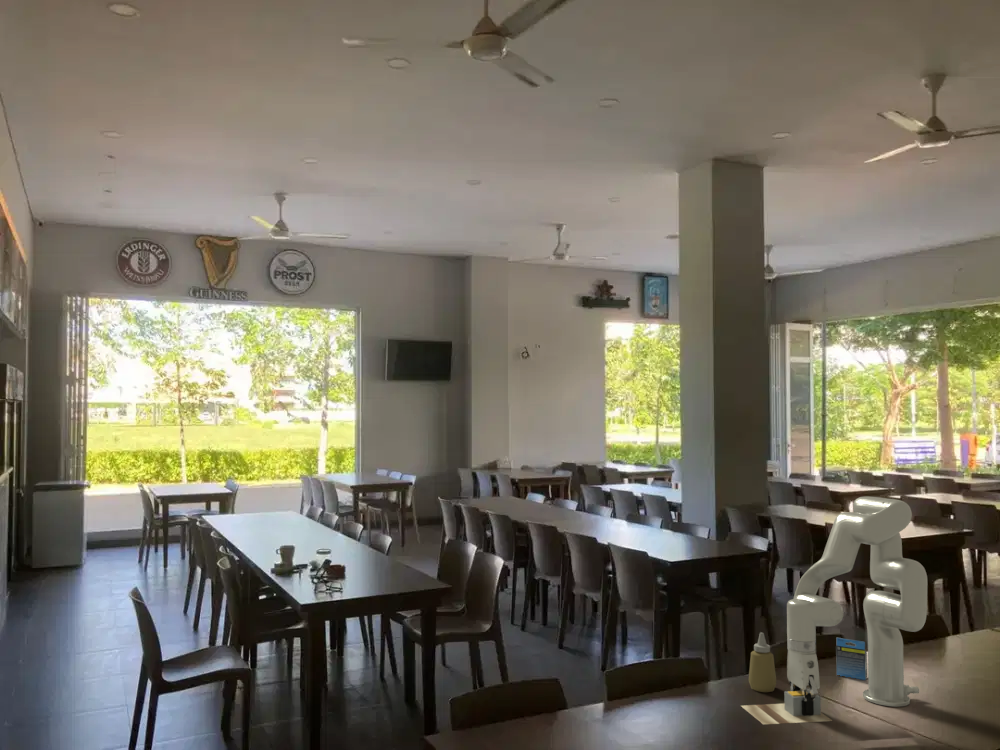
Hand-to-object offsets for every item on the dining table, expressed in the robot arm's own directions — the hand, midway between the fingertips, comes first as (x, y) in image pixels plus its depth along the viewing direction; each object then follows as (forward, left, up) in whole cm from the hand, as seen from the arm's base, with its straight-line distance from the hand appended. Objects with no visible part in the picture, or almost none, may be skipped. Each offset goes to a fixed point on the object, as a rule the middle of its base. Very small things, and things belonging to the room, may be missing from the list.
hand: (802, 710), depth 224 cm
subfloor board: (+5, 0, -2) cm, 5 cm away
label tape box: (-34, -31, -2) cm, 46 cm away
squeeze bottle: (+2, -20, -2) cm, 20 cm away
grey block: (0, 0, 0) cm, 0 cm away
